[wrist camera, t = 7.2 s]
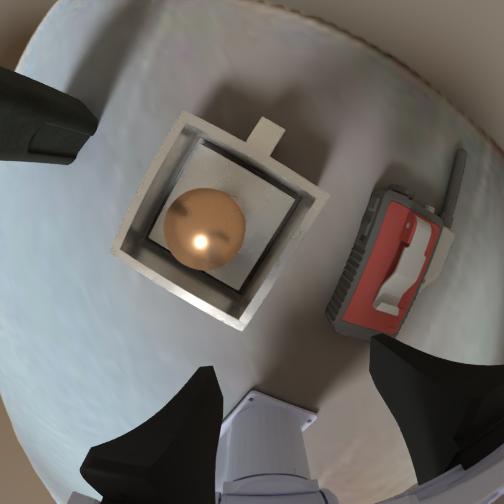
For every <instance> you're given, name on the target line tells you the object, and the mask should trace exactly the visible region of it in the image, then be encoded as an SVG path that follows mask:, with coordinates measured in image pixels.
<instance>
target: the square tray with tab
mask: <svg viewBox="0 0 504 504" xmlns="http://www.w3.org/2000/svg"><path fill="white" fill-rule="evenodd" d="M284 132H285V129H283V128H282V127H280V126H278V125H277V124H275V123H273V122H271V121H270V120H268V119H266V118H264V117H263V116H262V118H261V119H260V121H259V122H258V124H257V125H256V127H255V128H254V130H253V131H252V133H251V134H250V136H249V137H248V139H247V140H246V142H244V141H242V140H240V139H238V138H236V137H235V136H233V135H231V134H229V133H227V132H225V131H224V130H222V129H220V128H218V127H216V126H214V125H212V124H210V123H208V122H206V121H204V120H202V119H201V118H199V117H197V116H195V115H193V114H190V113H188V112H186V111H184V110H183V112H182V113H181V115H180V117H179V118H178V120H177V121H176V123H175V124H174V126H173V128H172V129H171V131H170V132H169V134H168V136H167V137H166V139H165V141H164V142H163V144H162V146H161V148H160V149H159V151H158V153H157V155H156V156H155V158H154V160H153V162H152V164H151V165H150V167H149V169H148V171H147V173H146V175H145V177H144V178H143V180H142V182H141V184H140V186H139V188H138V190H137V192H136V194H135V196H134V198H133V200H132V202H131V204H130V206H129V209H128V211H127V213H126V215H125V217H124V219H123V222H122V224H121V226H120V228H119V231H118V233H117V235H116V238H115V240H114V242H113V245H112V247H111V250H110V252H109V253H111V254H112V255H114V256H115V257H117V258H118V259H120V260H121V261H123V262H124V263H126V264H127V265H129V266H130V267H132V268H133V269H135V270H137V271H138V272H140V273H141V274H143V275H144V276H146V277H148V278H149V279H151V280H152V281H154V282H156V283H157V284H159V285H160V286H162V287H164V288H165V289H167V290H169V291H170V292H172V293H174V294H175V295H177V296H179V297H180V298H182V299H184V300H186V301H187V302H189V303H191V304H192V305H194V306H196V307H198V308H199V309H201V310H203V311H205V312H206V313H208V314H210V315H212V316H214V317H215V318H217V319H219V320H221V321H223V322H225V323H226V324H228V325H230V326H232V327H234V328H236V329H238V330H240V331H243V330H244V328H245V327H246V325H247V324H248V322H249V321H250V319H251V318H252V316H253V315H254V313H255V312H256V311H257V309H258V308H259V306H260V305H261V303H262V302H263V300H264V299H265V297H266V296H267V294H268V293H269V291H270V290H271V288H272V287H273V285H274V284H275V282H276V280H277V279H278V277H279V276H280V274H281V273H282V271H283V270H284V268H285V267H286V265H287V264H288V262H289V260H290V259H291V257H292V256H293V254H294V253H295V251H296V250H297V248H298V246H299V245H300V243H301V242H302V240H303V239H304V237H305V235H306V234H307V232H308V231H309V229H310V227H311V226H312V224H313V223H314V221H315V219H316V218H317V216H318V215H319V213H320V211H321V210H322V208H323V206H324V205H325V203H326V201H327V200H328V198H329V197H330V195H329V194H327V193H326V192H324V191H323V190H321V189H320V188H318V187H317V186H315V185H314V184H312V183H311V182H309V181H308V180H306V179H305V178H303V177H302V176H300V175H299V174H297V173H295V172H294V171H292V170H291V169H289V168H288V167H286V166H284V165H283V164H281V163H279V162H278V161H276V160H274V159H273V158H271V157H270V155H271V154H272V152H273V151H274V149H275V147H276V146H277V144H278V143H279V141H280V139H281V138H282V136H283V134H284ZM200 137H201V138H203V139H204V140H206V141H208V142H210V143H212V144H214V145H216V146H217V147H219V148H221V149H223V150H225V151H226V152H228V153H230V154H232V155H234V156H235V157H237V158H239V159H241V160H242V161H244V162H246V163H248V164H249V165H251V166H253V167H254V168H256V169H258V170H259V171H261V172H263V173H264V174H266V175H268V176H269V177H271V178H273V179H274V180H276V181H278V182H279V183H281V184H282V185H284V186H286V187H287V188H289V189H290V190H292V191H294V192H295V193H297V194H298V195H300V196H301V197H302V199H301V200H300V202H299V204H298V205H297V207H296V209H295V210H294V212H293V213H292V215H291V217H290V218H289V220H288V221H287V223H286V225H285V226H284V228H283V229H282V231H281V233H280V234H279V236H278V237H277V239H276V241H275V242H274V244H273V245H272V247H271V249H270V250H269V252H268V253H267V255H266V257H265V258H264V260H263V261H262V263H261V265H260V266H259V268H258V269H257V271H256V272H255V274H254V276H253V277H252V279H251V280H250V282H249V283H248V285H247V287H246V288H245V290H244V291H243V293H242V294H241V295H240V294H238V293H237V292H235V291H233V290H231V289H230V288H228V287H226V286H224V285H223V284H221V283H219V282H217V281H216V280H214V279H212V278H211V277H209V276H207V275H205V274H204V273H202V272H200V271H199V270H197V269H193V268H190V267H188V266H186V265H184V264H182V263H181V262H179V261H178V260H177V259H176V258H175V257H174V256H173V255H172V254H170V253H169V252H167V251H165V250H164V249H162V248H160V247H159V246H157V245H155V244H154V243H152V242H151V241H149V240H147V239H146V238H145V236H146V234H147V232H148V230H149V228H150V226H151V224H152V222H153V220H154V218H155V216H156V214H157V212H158V210H159V208H160V206H161V205H162V203H163V201H164V199H165V197H166V195H167V193H168V191H169V190H170V188H171V186H172V184H173V182H174V181H175V179H176V177H177V175H178V173H179V172H180V170H181V168H182V167H183V165H184V163H185V161H186V160H187V158H188V156H189V155H190V153H191V151H192V150H193V148H194V146H195V145H196V143H197V142H198V140H199V138H200Z"/></svg>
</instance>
